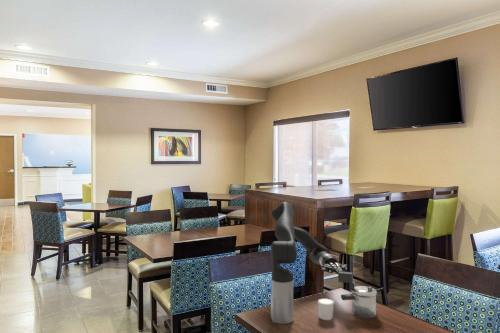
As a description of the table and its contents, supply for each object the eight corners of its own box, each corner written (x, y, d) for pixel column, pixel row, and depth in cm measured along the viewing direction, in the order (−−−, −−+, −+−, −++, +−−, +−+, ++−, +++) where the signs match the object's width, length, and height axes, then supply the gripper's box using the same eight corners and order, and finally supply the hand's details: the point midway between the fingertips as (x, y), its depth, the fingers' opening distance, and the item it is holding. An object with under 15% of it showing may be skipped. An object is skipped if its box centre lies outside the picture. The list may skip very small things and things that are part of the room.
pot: (346, 319, 155) (346, 298, 155) (338, 309, 165) (338, 289, 165) (380, 317, 156) (380, 296, 156) (369, 308, 166) (369, 288, 166)
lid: (337, 293, 159) (337, 275, 159) (339, 285, 169) (339, 268, 169) (376, 298, 154) (376, 279, 154) (376, 289, 164) (376, 272, 164)
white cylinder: (334, 321, 153) (334, 304, 153) (317, 320, 154) (317, 303, 154) (333, 314, 160) (333, 298, 159) (317, 313, 161) (317, 297, 161)
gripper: (315, 255, 183) (327, 265, 165) (341, 254, 184) (355, 264, 167) (315, 270, 183) (327, 282, 166) (341, 269, 184) (354, 280, 167)
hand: (341, 273), depth 166 cm, fingers closed
